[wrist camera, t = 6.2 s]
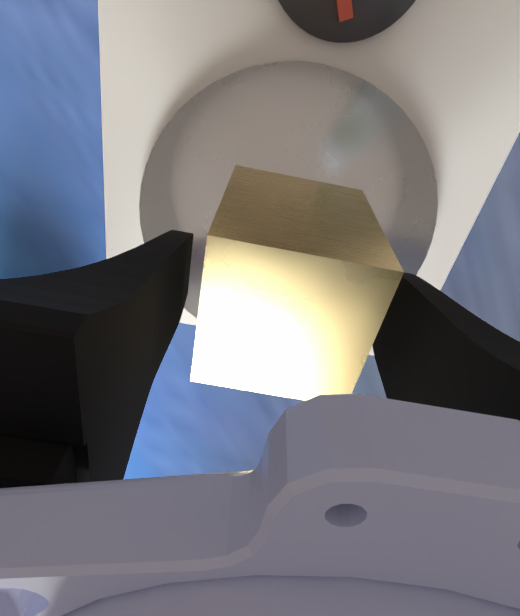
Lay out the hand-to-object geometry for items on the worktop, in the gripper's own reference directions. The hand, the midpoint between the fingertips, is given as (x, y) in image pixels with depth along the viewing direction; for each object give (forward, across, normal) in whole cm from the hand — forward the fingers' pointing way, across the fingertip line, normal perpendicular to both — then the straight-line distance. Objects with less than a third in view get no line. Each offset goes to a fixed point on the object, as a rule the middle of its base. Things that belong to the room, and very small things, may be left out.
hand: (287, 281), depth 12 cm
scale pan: (+4, 0, 0) cm, 4 cm away
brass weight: (+4, 0, 0) cm, 4 cm away
